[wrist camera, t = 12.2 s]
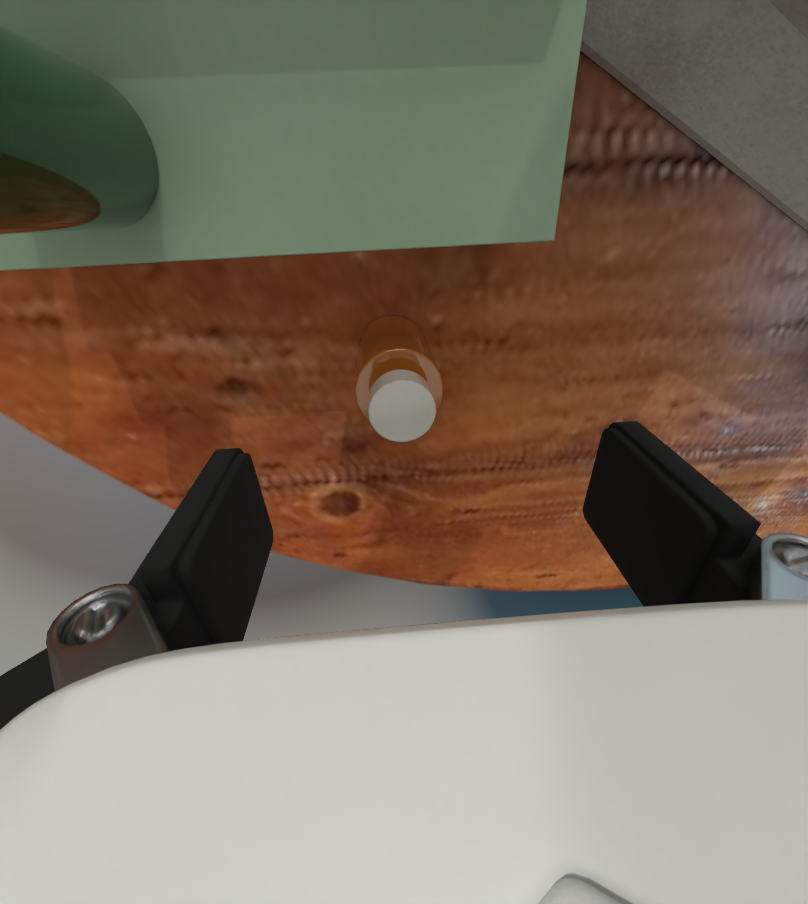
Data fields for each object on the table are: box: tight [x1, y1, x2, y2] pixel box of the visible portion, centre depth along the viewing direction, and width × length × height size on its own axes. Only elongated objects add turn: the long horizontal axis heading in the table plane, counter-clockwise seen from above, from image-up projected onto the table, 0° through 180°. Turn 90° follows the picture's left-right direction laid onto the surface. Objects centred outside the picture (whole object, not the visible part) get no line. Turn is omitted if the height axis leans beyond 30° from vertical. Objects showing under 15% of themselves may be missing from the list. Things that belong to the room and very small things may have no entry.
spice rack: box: [0, 0, 587, 271], centre depth 14 cm, size 20×10×11 cm, turn 92°
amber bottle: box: [355, 316, 443, 442], centre depth 21 cm, size 4×4×9 cm
